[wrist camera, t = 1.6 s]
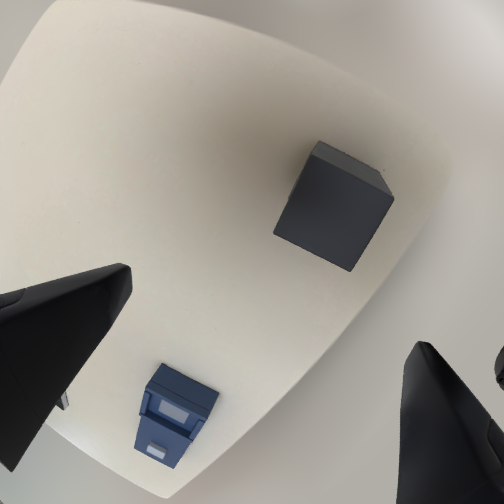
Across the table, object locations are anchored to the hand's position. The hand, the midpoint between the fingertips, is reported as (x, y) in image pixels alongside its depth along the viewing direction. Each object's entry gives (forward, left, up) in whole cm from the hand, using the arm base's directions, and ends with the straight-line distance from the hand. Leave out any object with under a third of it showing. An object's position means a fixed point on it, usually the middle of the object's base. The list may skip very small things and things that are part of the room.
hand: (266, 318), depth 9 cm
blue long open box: (+2, +31, -12) cm, 33 cm away
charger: (-1, -2, -12) cm, 12 cm away
